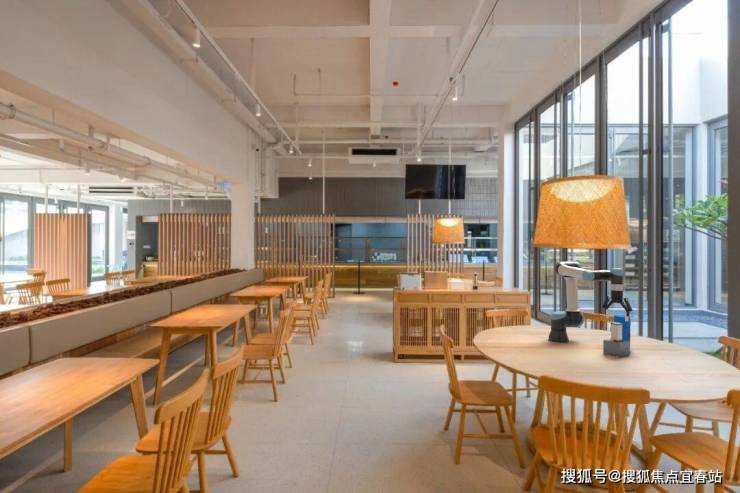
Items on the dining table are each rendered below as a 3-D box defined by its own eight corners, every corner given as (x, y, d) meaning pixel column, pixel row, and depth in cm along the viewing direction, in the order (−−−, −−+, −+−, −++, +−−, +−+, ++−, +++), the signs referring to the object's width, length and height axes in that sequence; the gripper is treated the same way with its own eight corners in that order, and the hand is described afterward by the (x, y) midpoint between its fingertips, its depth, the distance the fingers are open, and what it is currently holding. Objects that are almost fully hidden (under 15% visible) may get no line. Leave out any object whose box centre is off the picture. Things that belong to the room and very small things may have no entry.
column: (610, 353, 299) (610, 322, 298) (614, 352, 302) (615, 322, 301) (617, 355, 294) (617, 324, 294) (622, 354, 297) (622, 323, 297)
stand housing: (603, 353, 300) (603, 338, 300) (613, 351, 306) (613, 336, 306) (620, 357, 290) (620, 341, 290) (629, 355, 296) (629, 339, 295)
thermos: (625, 347, 318) (625, 314, 318) (633, 350, 307) (633, 317, 307) (610, 346, 319) (611, 314, 319) (617, 350, 309) (617, 317, 308)
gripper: (597, 288, 306) (597, 317, 306) (632, 292, 285) (632, 322, 285) (603, 288, 310) (603, 316, 310) (638, 291, 288) (638, 321, 288)
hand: (616, 319), depth 297 cm, fingers open, 13 cm apart
